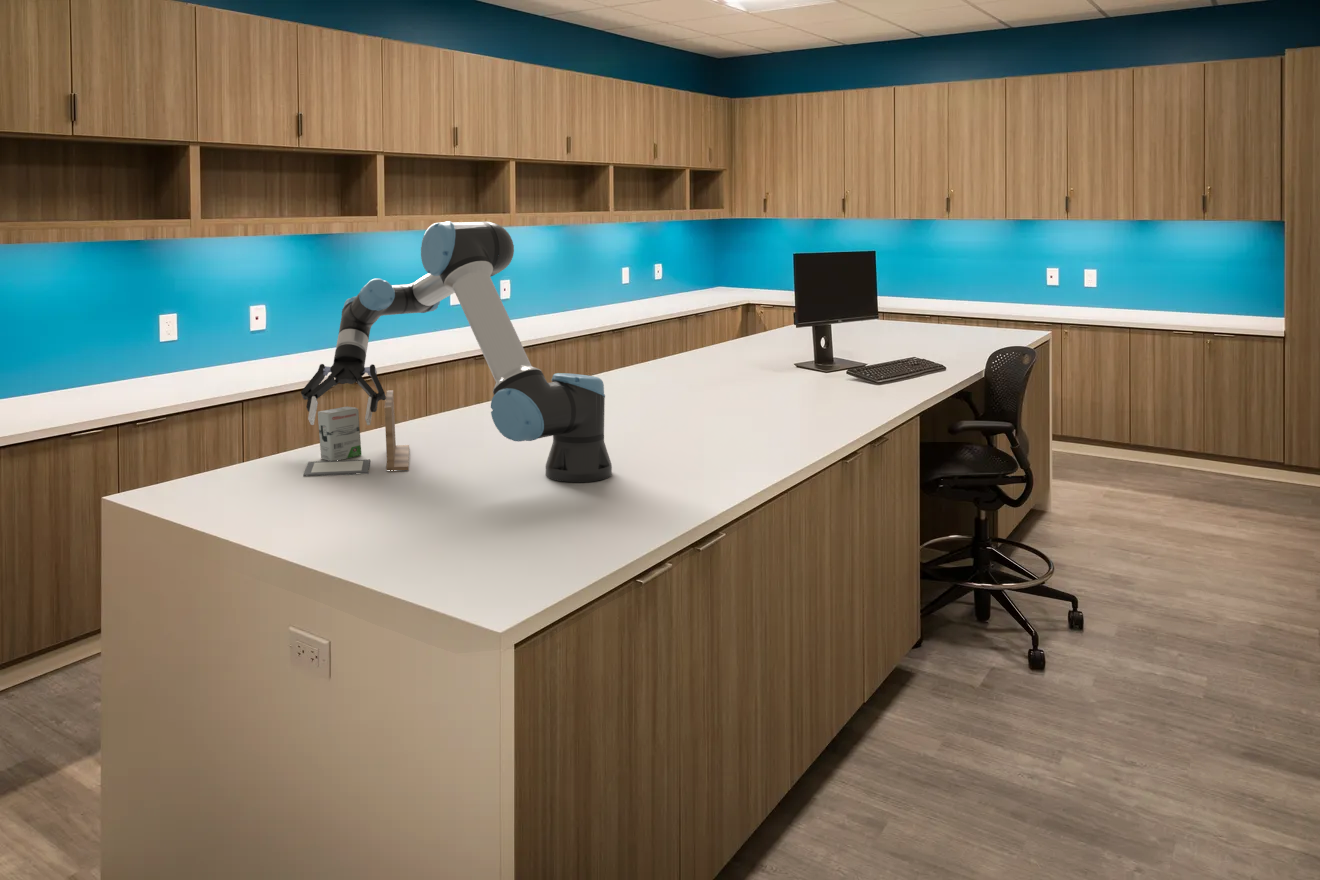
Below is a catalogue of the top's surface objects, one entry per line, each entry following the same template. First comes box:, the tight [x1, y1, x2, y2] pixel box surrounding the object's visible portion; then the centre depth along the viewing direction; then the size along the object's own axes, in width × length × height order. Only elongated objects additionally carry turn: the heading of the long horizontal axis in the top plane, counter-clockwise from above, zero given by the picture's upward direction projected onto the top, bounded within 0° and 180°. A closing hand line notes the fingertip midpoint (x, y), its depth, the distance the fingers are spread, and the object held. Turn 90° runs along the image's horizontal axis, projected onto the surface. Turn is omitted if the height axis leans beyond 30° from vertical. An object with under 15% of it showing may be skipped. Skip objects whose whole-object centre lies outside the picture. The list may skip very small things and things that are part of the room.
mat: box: [303, 458, 371, 477], centre depth 241 cm, size 12×14×1 cm
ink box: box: [317, 406, 362, 461], centre depth 250 cm, size 9×5×12 cm, turn 141°
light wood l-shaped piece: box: [383, 389, 410, 472], centre depth 248 cm, size 22×5×15 cm, turn 13°
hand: (339, 422), depth 252 cm, fingers open, 13 cm apart
